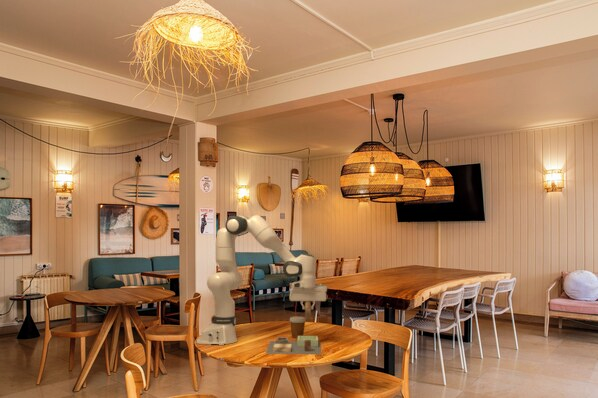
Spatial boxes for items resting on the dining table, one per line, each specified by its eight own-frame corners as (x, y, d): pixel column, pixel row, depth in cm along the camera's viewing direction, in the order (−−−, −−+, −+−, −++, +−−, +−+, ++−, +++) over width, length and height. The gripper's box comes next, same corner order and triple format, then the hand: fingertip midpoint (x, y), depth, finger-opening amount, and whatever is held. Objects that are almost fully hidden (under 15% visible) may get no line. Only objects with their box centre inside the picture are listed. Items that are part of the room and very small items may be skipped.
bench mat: (265, 355, 231) (265, 353, 231) (270, 342, 257) (270, 341, 257) (321, 355, 231) (321, 354, 231) (320, 343, 257) (320, 341, 257)
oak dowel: (305, 317, 249) (305, 300, 250) (305, 316, 252) (305, 299, 253) (310, 317, 249) (310, 300, 250) (310, 316, 252) (310, 299, 253)
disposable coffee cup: (304, 341, 261) (304, 319, 262) (287, 340, 263) (287, 318, 264) (307, 337, 270) (307, 316, 271) (291, 336, 272) (291, 315, 273)
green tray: (297, 346, 245) (297, 340, 245) (297, 342, 255) (297, 335, 255) (318, 347, 245) (318, 340, 245) (317, 342, 255) (317, 335, 255)
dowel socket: (275, 345, 247) (275, 340, 247) (276, 342, 253) (276, 337, 254) (287, 345, 247) (287, 340, 247) (288, 343, 253) (288, 337, 253)
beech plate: (273, 351, 235) (273, 347, 235) (274, 348, 242) (274, 343, 242) (290, 352, 234) (290, 347, 235) (291, 348, 241) (291, 343, 242)
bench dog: (304, 351, 236) (304, 341, 237) (304, 349, 239) (304, 339, 240) (310, 351, 236) (310, 341, 236) (310, 349, 239) (310, 339, 240)
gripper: (326, 283, 255) (326, 308, 254) (289, 282, 255) (289, 308, 254) (327, 284, 249) (327, 310, 248) (289, 284, 249) (289, 310, 248)
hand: (307, 309), depth 251 cm, fingers closed on oak dowel, 3 cm apart
